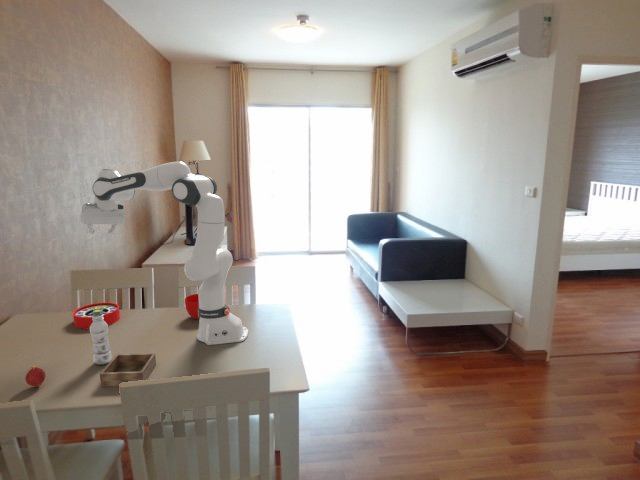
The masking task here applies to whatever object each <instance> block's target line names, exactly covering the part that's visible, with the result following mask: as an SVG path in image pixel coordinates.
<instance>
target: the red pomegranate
mask: <svg viewBox="0 0 640 480" xmlns="http://www.w3.org/2000/svg"><path fill="white" fill-rule="evenodd" d="M45 379H46V372H45V371H44V370H43V369H42V368H41V367H37V366H35V365H32V366H31V369H29V370H28V372H27V373H26V374H25V379H24V380H25V382H26V384H27V385H28V386H31V387H35V388H39V387H40V385H41V386H42V384H43V383H44V382H45Z"/></svg>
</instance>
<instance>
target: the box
mask: <svg viewBox="0 0 640 480" xmlns="http://www.w3.org/2000/svg"><path fill="white" fill-rule="evenodd" d="M156 358H157V357H156V353H155V352H154V353H153V352H152V353H119V354H115V355H114V357H112V359H111V361H110V362H109V363H107V365H106V366H105V367H104V368H103V370H102V371H101V372H100V373H99V378H100V387H101V386H113V387H120V386H119V384H120V383H122V382H128V381H138V380H146V379H147V380H148V379H149V378H150V377H151V374H152V372H153V371H154V369H155V368H156V366H157V360H156Z"/></svg>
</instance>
